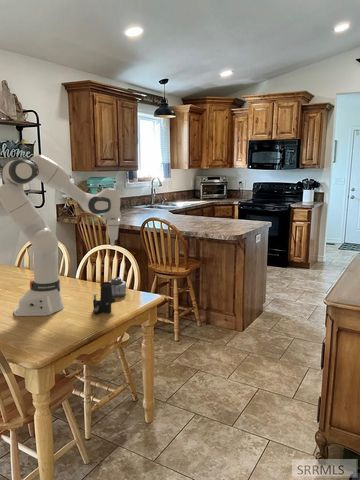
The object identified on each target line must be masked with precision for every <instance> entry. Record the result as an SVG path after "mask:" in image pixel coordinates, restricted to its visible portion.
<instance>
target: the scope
mask: <svg viewBox="0 0 360 480" xmlns="http://www.w3.org/2000/svg"><path fill="white" fill-rule="evenodd" d="M111 286H112V283H110V282H109V281H104V282H100V284H99V287H100V298H99V300H98V299H97V295H96V294H93V301H92V303H93V312H94V315H99V314H109V313H111V312H112V304H113V303H115V302H116V298H112V287H111Z"/></svg>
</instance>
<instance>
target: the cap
mask: <svg viewBox="0 0 360 480" xmlns="http://www.w3.org/2000/svg"><path fill="white" fill-rule="evenodd" d="M121 280H122V278H120V277H112V278H111V279H110V281H111V283H112V285H120V284H121Z"/></svg>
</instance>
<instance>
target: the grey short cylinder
mask: <svg viewBox="0 0 360 480" xmlns="http://www.w3.org/2000/svg"><path fill="white" fill-rule="evenodd" d="M108 282H110V283H111V280H109V281H108ZM111 287H112V298H114V299H117V298H118V297H119V298H122V297H125V296H127V283H126V281H124V280H123V279H121V284H120V285H112V286H111ZM119 298H118V299H119Z"/></svg>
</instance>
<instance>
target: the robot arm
mask: <svg viewBox="0 0 360 480" xmlns="http://www.w3.org/2000/svg"><path fill="white" fill-rule="evenodd" d="M0 173H1V176H0V177H1V183H2V185H0V203H1V205H2V207H3V208H4V210H5V211H6V212H7V214H8V215H9V217H10V219H12V221H13V222H14V223H15V224H16V226H17V228H18V229H19V230H20V231H21V232H22V234H23V235H24V237H26V239H27V240H28V242H29V243H30V244H31V247H32V251H33V252H32V254H33V255H32V258H33V259H32V261H33V263H32V268H33V269H32V270H33V279H31V280H30V281H29V290H27V291H26V292H25V293H24V294H23V295H22V296H21V297H19V301H18V305H17V306H15V308H14V309H13V314H14V316H16V317H38V316H39V317H40V316H45V317H46V316H50V315H52V314H54V313H57V312H59V311H61V310H63V308H64V307H65V306H64V303H63V300H62V294H61V280H60V278H59V265H58V263H59V239H58V237H57V235H56V234H55V233H54V232H53V231H52V230H51V228H50V227H49V225H48V223H47V222H46V221H45V219H44V218H43V216H42V215H41V214H40V212H39V210H37V208H36V206H35V205H34V204H33V202H32V201H31V199H30V198H29V197H28V195H27V194H26V192H25V189H24V185H26V184H28V183H30V182H31V181H33V180H34V179H36V180H39V181H40V182H41V183H43V184H44V185H46V186H48V187H49V188H51V189H53V190H55V191H58V192H61V193H64V194H65V195H66V196H68V197H69V198H71V199H72V200H74V201H75V202H76V203H77V204H78V206H79V208H80V209H81V210H82V211H83V212H84V213H87V214H88V213H89V214H93V215H101V214H102V215H103V216H102V217H103V218H102V219H103V224H105V226H106V227H107V229H106V231H107V232H106V233H107V235H108V237H109V243H110V246H111V247H114V246H115V241H116V240H118V237H119V227H120V224H121V218H122V216H121V209H120V208H121V194H120V192H119V190H118V189H115V188H110V187H104V189H102V190H101V191H99V192H98V193H96V194H95V193H94V194H93V193H90V192H85V191H83V189H81V188H79V187H78V186H77V185H76V184H74V183H72V181H71V176H70V174H69V173H68V171H66V169H65V168H64V167H62V166H61V165H59V164H58V163H56V162H55V161H53V160H52V159H50V158H48V157H46V156H44V155H42V154H35V155H33V156H32V157H31V158H29V159H24V158H18V159H13V160H11V161H7V162H6V163H5V164H3V166H2V168H1V171H0Z"/></svg>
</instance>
